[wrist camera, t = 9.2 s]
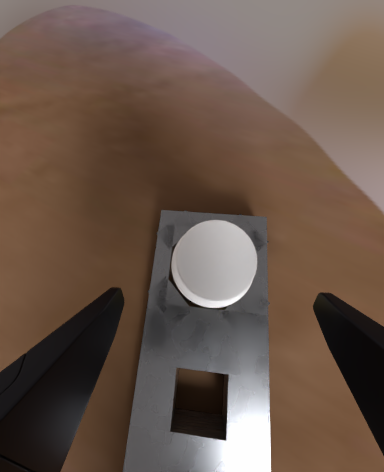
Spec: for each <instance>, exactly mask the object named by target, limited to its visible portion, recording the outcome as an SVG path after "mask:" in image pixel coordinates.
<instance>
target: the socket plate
mask: <svg viewBox="0 0 384 472" xmlns="http://www.w3.org/2000/svg"><path fill="white" fill-rule="evenodd" d="M209 220H222V221H227V222H230V223H232V224H234V225H236V226H238V227H239V228H241V229H242V230H243V231H244V232H245V233H246V234H247V235H248V236H249V238H250V239H251V241H252V242H253V245H254V247H255V250H256V253H257V270H256V274H255V276H254V279H253V281H252V284H251V286H250V288H249V289H248V291H247V292H246V293H245V295H244V296H242V297H241V298H240V299H239V300H238V301H236V302H235V303H233V304H231V305H228V306H225V307H220V308H209V307H203V306H200V305H198V304H192V303H190V302H189V300H188V299H187V298H186V297H185V296H184V295H183V294H182V293H181V291H180V290H179V289H178V287H177V285H176V283H175V282H174V281H173V275H172V268H171V263H172V256H173V252H174V249H175V247H176V245H177V243H178V241H179V240H180V239H181V238H182V236H183V235H184V234H185V233H186V232H187V231H188V230H189V229H191V228H192V227H194V226H195V225H197V224H199V223H201V222H204V221H209ZM157 235H158V237H157V244H156V250H155V257H154V264H153V271H152V277H151V284H150V290H148V292H149V298H148V305H147V311H146V318H145V325H144V332H143V338H142V345H141V352H140V359H139V365H138V372H137V379H136V386H135V392H134V399H133V406H132V413H131V420H130V426H129V433H128V440H127V447H126V453H125V460H124V467H123V472H271V460H270V399H269V338H268V305H269V304H270V303H269V302H268V277H267V243H268V241H267V217H259V216H244V215H241V214H240V215H229V214H214V213H199V212H187V211H186V210H185V211H169V210H161V217H160V223H159V230H158V232H157ZM179 368H184V369H191V370H199V371H207V372H214V373H222V374H224V385H223V410H222V415H218V414H211V413H204V412H197V411H191V410H184V409H177V408H175V404H176V394H177V383H178V373H179Z"/></svg>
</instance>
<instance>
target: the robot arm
mask: <svg viewBox="0 0 384 472" xmlns="http://www.w3.org/2000/svg"><path fill="white" fill-rule="evenodd" d="M123 306H124V297H123V294H122V290H121V288H114V287H113V288H110V289H109V290H107V291H106V292H105V293H103V294H102V295H101V296H99V297H98V298H97V299H96V300H94V301H93V302H92V303H90V304H89V305H88V306H86V307H85V308H84V309H82V310H81V311H80V312H78V313H77V314H76V315H75V316H73V317H72V318H71V319H69V320H68V321H67V322H65V323H64V324H63V325H61V326H60V327H59V328H58V329H56V330H55V331H54V332H52V333H51V334H50V335H48V336H47V337H46V338H44V339H43V340H42V341H41V342H39V343H38V344H37V345H35V346H34V347H33V348H31V349H30V350H29V351H28V352H27V353H25V354H23V355H22V356H21V357H19V358H18V359H17V360H16V361H14V362H13V363H12V364H10V365H9V366H8V367H6V368H5V369H4V370H2V371H1V372H0V472H60V471H61V469H62V466H63V464H64V461H65V459H66V456H67V454H68V451H69V449H70V446H71V444H72V441H73V439H74V437H75V434H76V432H77V429H78V427H79V424H80V422H81V419H82V417H83V414H84V412H85V409H86V407H87V404H88V402H89V399H90V397H91V394H92V392H93V389H94V387H95V384H96V382H97V379H98V377H99V375H100V372H101V370H102V367H103V365H104V362H105V360H106V357H107V355H108V352H109V350H110V347H111V345H112V342H113V340H114V337H115V334H116V330H117V327H118V324H119V320H120V317H121V313H122V310H123ZM313 310H314V312H315V315H316V318H317V320H318V323H319V325H320V328H321V330H322V333H323V335H324V338H325V340H326V343H327V345H328V347H329V349H330V351H331V353H332V355H333V357H334V359H335V361H336V363H337V365H338V367H339V369H340V371H341V373H342V375H343V377H344V379H345V381H346V383H347V385H348V387H349V389H350V391H351V393H352V394H353V396H354V398H355V400H356V402H357V404H358V406H359V408H360V410H361V412H362V414H363V416H364V418H365V420H366V422H367V424H368V426H369V428H370V430H371V432H372V434H373V436H374V438H375V440H376V442H377V444H378V446H379V448H380V450H381V451H382V453H383V455H384V327H383V326H382V325H380V324H378V323H377V322H375V321H374V320H372V319H371V318H369V317H367V316H366V315H364V314H363V313H361V312H360V311H358V310H357V309H355V308H353V307H352V306H350V305H349V304H347V303H346V302H344V301H342V300H341V299H339V298H338V297H336V296H335V295H333V294H331V293H319V294H318V296H317V298H316V300H315V302H314V305H313Z"/></svg>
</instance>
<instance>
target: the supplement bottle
mask: <svg viewBox="0 0 384 472" xmlns="http://www.w3.org/2000/svg"><path fill="white" fill-rule="evenodd" d="M171 268H172V275H173V278H174V281H175V283H176V285H177V287H178V289H179V290H180V291H181V293H182V294H183V295H184V296H185V297H186V298H188V299H189V300H190V301H192V302H194V303H195V304H198V305H200V306H203V307H209V308H220V307H225V306H228V305H231V304H233V303H235V302H236V301H238V300H239V299H240V298H241V297H242V296H244V295H245V293H246V292H247V291H248V289H249V288H250V286H251V284H252V281H253V279H254V276H255V274H256V270H257V253H256V250H255V247H254V245H253V242H252V241H251V239H250V238H249V236H248V235H247V234H246V233H245V232H244V231H243V230H242V229H241V228H239V227H238V226H236V225H234V224H232V223H230V222H227V221H222V220H209V221H204V222H201V223H199V224H197V225H195V226H194V227H192V228H191V229H189V230H188V231H187V232H186V233H185V234H184V235H183V236H182V238H181V239H180V240H179V241H178V243H177V245H176V247H175V249H174V252H173V256H172V263H171Z"/></svg>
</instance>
